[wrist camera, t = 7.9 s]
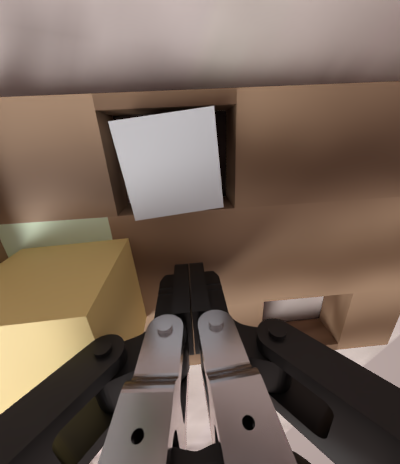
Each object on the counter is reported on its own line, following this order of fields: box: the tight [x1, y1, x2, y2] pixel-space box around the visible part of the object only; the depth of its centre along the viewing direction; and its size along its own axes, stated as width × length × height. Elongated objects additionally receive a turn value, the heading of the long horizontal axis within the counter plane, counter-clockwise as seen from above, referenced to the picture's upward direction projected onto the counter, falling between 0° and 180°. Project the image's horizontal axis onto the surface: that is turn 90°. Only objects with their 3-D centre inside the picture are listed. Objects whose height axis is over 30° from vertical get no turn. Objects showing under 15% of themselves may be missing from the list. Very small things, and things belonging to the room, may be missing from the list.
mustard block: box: [0, 238, 147, 414], centre depth 10 cm, size 6×6×6 cm
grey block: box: [108, 106, 224, 221], centre depth 11 cm, size 4×4×4 cm
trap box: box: [0, 81, 400, 365], centre depth 13 cm, size 17×25×4 cm
